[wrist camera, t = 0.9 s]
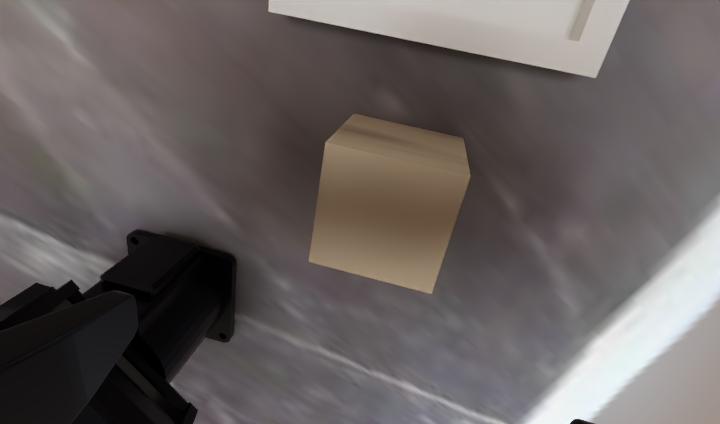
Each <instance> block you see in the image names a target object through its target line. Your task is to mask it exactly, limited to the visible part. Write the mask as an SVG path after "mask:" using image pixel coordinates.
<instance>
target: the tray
mask: <svg viewBox="0 0 720 424" xmlns="http://www.w3.org/2000/svg"><path fill="white" fill-rule="evenodd" d="M628 3H629V0H269V9H268V12H273V13H278V14H283V15H288V16H293V17H298V18H303V19H308V20H313V21H317V22H322V23H327V24H332V25H337V26H342V27H347V28H352V29H357V30H362V31H367V32H371V33H376V34H381V35H386V36H391V37H396V38H401V39H406V40H411V41H416V42H421V43H425V44H430V45H435V46H440V47H445V48H450V49H455V50H460V51H465V52H470V53H475V54H479V55H484V56H489V57H494V58H499V59H504V60H509V61H514V62H519V63H524V64H529V65H533V66H538V67H543V68H548V69H553V70H558V71H563V72H568V73H573V74H578V75H583V76H587V77H592V78H596V77H597V74H598V72H599V70H600V67H601V65H602V63H603V60H604V58H605V56H606V54H607V51H608V49H609V47H610V44H611V42H612V40H613V37H614V35H615V33H616V30H617V28H618V26H619V24H620V21H621V19H622V17H623V14H624V12H625V10H626V7H627V5H628Z"/></svg>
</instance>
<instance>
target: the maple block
mask: <svg viewBox="0 0 720 424" xmlns="http://www.w3.org/2000/svg"><path fill="white" fill-rule="evenodd" d="M470 177H471V175H470V170H469V165H468V159H467V154H466V149H465V144H464V139H463V138H461V137H457V136H452V135H448V134H443V133H439V132H434V131H430V130H426V129H421V128H417V127H412V126H408V125H403V124H399V123H394V122H390V121H386V120H381V119H377V118H372V117H368V116H363V115H359V114H353V115H352V116H351V117H350V118H349V119H348V120H347V121H346V122H345V123H344V124H343V125H342V126H341V127H340V128H339V129H338V130H337V131H336V132H335V133H334V134H333V135H332V136H331V137H330V138H329V139H328V140H327V141H326V142H325V149H324V156H323V163H322V170H321V177H320V184H319V191H318V198H317V205H316V212H315V219H314V226H313V233H312V240H311V247H310V254H309V262H311V263H315V264H319V265H322V266H326V267H330V268H334V269H338V270H342V271H345V272H349V273H353V274H357V275H361V276H364V277H368V278H372V279H376V280H380V281H383V282H387V283H391V284H395V285H399V286H403V287H406V288H410V289H414V290H418V291H422V292H425V293H429V294H432V291H433V288H434V285H435V282H436V279H437V276H438V273H439V270H440V267H441V264H442V261H443V258H444V255H445V252H446V249H447V246H448V243H449V240H450V237H451V234H452V231H453V228H454V225H455V222H456V219H457V216H458V213H459V210H460V207H461V204H462V201H463V198H464V195H465V192H466V189H467V186H468V183H469V180H470Z"/></svg>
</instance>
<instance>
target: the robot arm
mask: <svg viewBox="0 0 720 424" xmlns="http://www.w3.org/2000/svg"><path fill="white" fill-rule="evenodd" d="M136 238H137V239H138V240H137V239H136ZM127 246H128V256H127V257H125V258H124V259H122V260H121V261H120V262H118V263H117V264H116V265H114V266H113V267H111V268H110V269H109V270H107V271H106V272H105V273H103V274H102V275H101V276H100V277H101V281H99V282H98V283H97V284H95V285H94V286H93V287H91V288H90V289H89V290H87V291H86V292H85V293H83V294H82V293H81V292H80V291H79V289H80V288H79V287H78V286H77V285H76V284H75V283H74V282H73V281H72V280H70V281H69V282H67V283H66V284H64V285H63V286H61V287H59V288H58V289H55V288H54V287H53V286H52V287H48V286H45V285H42V284H39V283H35V284H34V285H32V286H31V287H29V288H27V289H26V290H24V291H23V292H21V293H20V294H18V295H16V296H15V297H13V298H12V299H10V300H8V301H7V302H5V303H4V304H2V305H0V424H193V422H194V420H195V417H196V414H197V412H198V410H197V409H196V408H195V407H194V406H193V405H192V404H191V403H188V402H187V401H186V400H185V399H184V398H183V397H182V396H181V395H180V394H179V393H178V392H177V391H176V390H175V389H174V388H173V387H172V386H171V385H170V383H171V381H172V380H173V379H174V377H175V376H176V375H177V373H178V372H179V371H180V369H181V368H182V367H183V365H184V364H185V363H186V361H187V360H188V359H189V358H190V356H191V355H192V354H193V352H194V351H195V350H196V348H197V347H198V346H199V344H200V343H201V342H202V340H203V339H204V338H205V337H207V338H210V339H214V340H217V341H221V342H228V341H229V340H230V339H231V337H232V336H233V324H234V298H235V271H236V261H235V259H234V257H232V256H231V255H229V254H227V253H223V252H219V251H215V250H211V249H208V248H204V247H200V246H196V245H193V244H189V243H185V242H181V241H178V240H174V239H170V238H166V237H162V236H159V235H154V234H151V233H147V232H143V231H139V230H135V231H133V232H131V233H130V234H128V236H127ZM224 261H225V262H227V263H228V265H227V264H225V263H224ZM570 424H594V423H591V422H587V421H584V420H580V419H575V420H573V421H572V422H571V423H570Z"/></svg>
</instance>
